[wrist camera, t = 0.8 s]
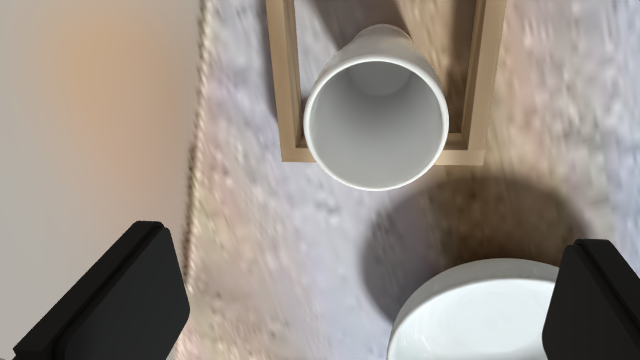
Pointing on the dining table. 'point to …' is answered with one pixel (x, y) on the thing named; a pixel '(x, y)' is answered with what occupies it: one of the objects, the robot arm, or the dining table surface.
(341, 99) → the drinking glass
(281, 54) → the oak corral
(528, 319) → the serving bowl
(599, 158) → the dining table surface
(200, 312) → the dining table surface
